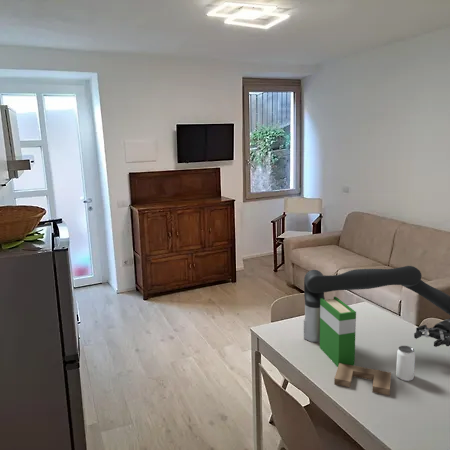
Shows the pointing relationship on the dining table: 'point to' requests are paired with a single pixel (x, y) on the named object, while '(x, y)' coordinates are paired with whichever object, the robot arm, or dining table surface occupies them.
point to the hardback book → (337, 331)
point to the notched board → (349, 371)
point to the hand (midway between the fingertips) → (424, 340)
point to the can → (405, 363)
